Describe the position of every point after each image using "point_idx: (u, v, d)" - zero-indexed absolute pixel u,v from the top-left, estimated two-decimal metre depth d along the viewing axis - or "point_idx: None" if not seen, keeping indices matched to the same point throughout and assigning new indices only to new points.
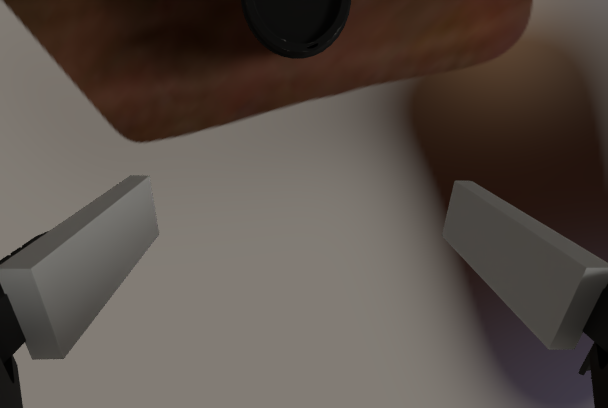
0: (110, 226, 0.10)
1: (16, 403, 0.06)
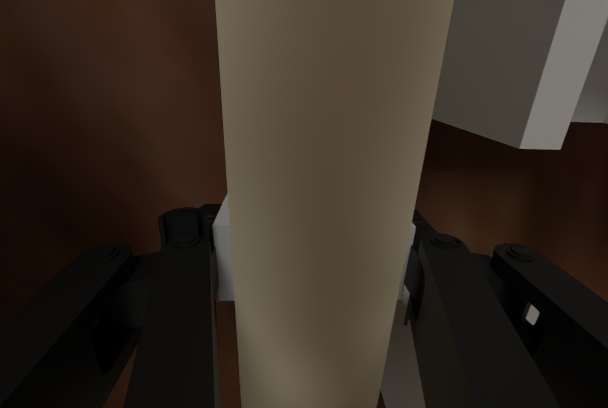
0: None
1: None
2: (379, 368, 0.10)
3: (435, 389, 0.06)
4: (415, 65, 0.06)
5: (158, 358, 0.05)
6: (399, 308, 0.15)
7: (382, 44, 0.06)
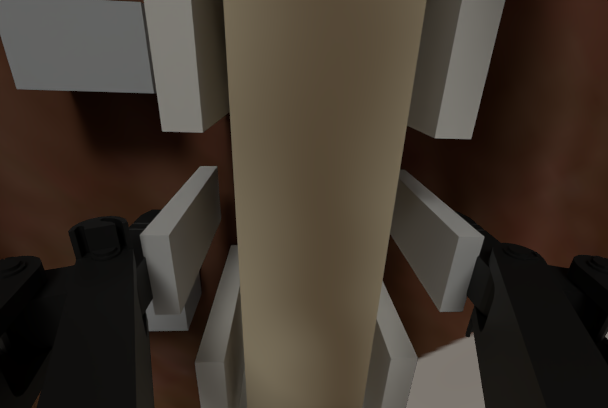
0: (199, 208, 0.11)
1: (148, 354, 0.07)
2: (369, 338, 0.11)
3: (500, 401, 0.06)
4: (393, 66, 0.08)
5: (70, 384, 0.05)
6: None
7: (364, 49, 0.07)
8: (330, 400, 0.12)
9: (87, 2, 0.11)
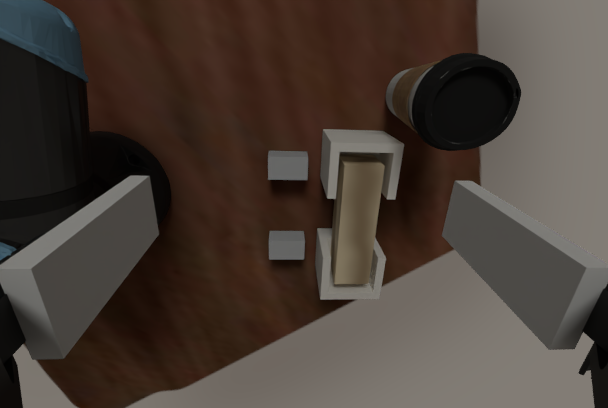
0: (110, 226, 0.10)
1: (16, 403, 0.06)
2: (371, 251, 0.39)
3: None
4: (377, 185, 0.36)
5: None
6: (319, 243, 0.43)
7: (371, 182, 0.36)
8: (360, 272, 0.40)
9: (293, 157, 0.39)
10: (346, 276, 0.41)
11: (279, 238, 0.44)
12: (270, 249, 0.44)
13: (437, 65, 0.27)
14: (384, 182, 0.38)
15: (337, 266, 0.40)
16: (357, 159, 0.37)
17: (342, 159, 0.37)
